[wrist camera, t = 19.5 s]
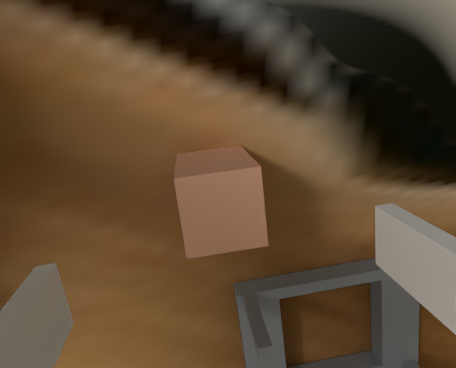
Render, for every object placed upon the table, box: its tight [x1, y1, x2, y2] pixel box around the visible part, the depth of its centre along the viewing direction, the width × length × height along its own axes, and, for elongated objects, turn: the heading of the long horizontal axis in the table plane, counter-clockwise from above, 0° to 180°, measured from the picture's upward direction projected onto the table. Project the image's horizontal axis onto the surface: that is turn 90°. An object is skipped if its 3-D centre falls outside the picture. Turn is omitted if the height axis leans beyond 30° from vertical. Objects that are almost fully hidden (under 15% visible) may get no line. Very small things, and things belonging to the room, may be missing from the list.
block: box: [174, 145, 268, 259], centre depth 24 cm, size 5×5×8 cm
